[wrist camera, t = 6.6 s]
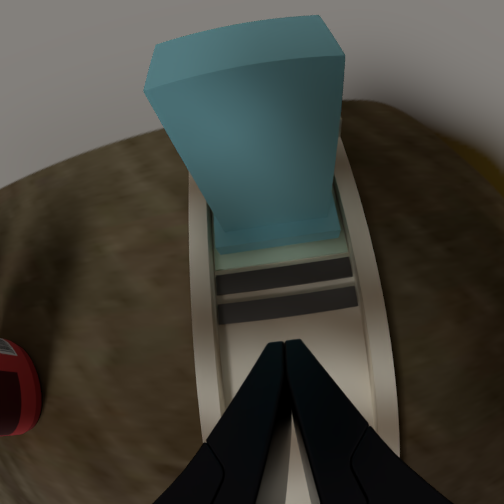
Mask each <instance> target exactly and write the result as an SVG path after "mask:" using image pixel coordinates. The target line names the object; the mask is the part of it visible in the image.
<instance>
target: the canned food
mask: <svg viewBox="0 0 504 504" xmlns="http://www.w3.org/2000/svg"><path fill="white" fill-rule="evenodd" d="M41 404H42V402H41V388H40V382H39V378H38V374H37V372H36V369H35V366H34V364H33V362H32V360H31V358H30V357H29V355H28V354H27V353H26V352H25V351H24V349H23V348H21V347H20V346H18V345H17V344H15V343H13V342H12V341H10V340H6V339H2V338H0V436H8V435H19V434H23V433H25V432H27V431H29V430H30V429H32V428H33V427H34V426H35V425H36V423H37V421H38V419H39V416H40V412H41Z"/></svg>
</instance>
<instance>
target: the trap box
mask: <svg viewBox="0 0 504 504" xmlns="http://www.w3.org/2000/svg"><path fill="white" fill-rule="evenodd" d="M341 126H342V117H341V116H340V126H339V135H338V144H337V152H336V161H335V168H334V176H333V183H332V190H331V191H332V195H333V199H334V203H335V207H336V211H337V215H338V220H339V224H340V229H341V231H340V234H339V238H334V239H327V240H320V241H313V242H306V243H299V244H292V245H286V246H279V247H272V248H265V249H258V250H251V251H244V252H237V253H230V254H223V255H220V254H219V252H218V251H217V250H216V248H215V231H214V213H213V212H212V210H211V208H210V206H209V205H208V203H207V201H206V200H205V198H204V196H203V194H202V193H201V191H200V189H199V188H198V186H197V184H196V182H195V181H194V179H193V177H192V175H191V174H190V172H189V260H190V289H191V310H192V328H193V343H194V357H195V370H196V381H197V392H198V402H199V412H200V421H201V430H202V438H203V443H204V442H206V439H207V437H208V436H209V434H210V433H211V431H212V430H213V428H214V427H215V425H216V424H217V422H218V421H219V419H220V418H221V416H222V415H223V413H224V412H225V410H226V409H227V407H228V406H229V404H230V403H231V401H232V399H233V398H234V396H235V395H236V393H237V392H238V390H239V388H240V387H241V385H242V384H243V382H244V381H245V379H246V377H247V376H248V374H249V372H250V371H251V369H252V368H253V366H254V364H255V363H256V361H257V359H258V358H259V356H260V354H261V353H262V351H263V350H264V348H265V346H266V345H267V343H269V342H276V341H283V342H284V343H285V341H286V340H292V339H301V340H302V341H303V342H304V344H305V345H306V346H307V347H308V349H309V350H310V351H311V352H312V354H313V355H314V356H315V357H316V359H317V360H318V361H319V362H320V364H321V365H322V366H323V367H324V369H325V370H326V371H327V372H328V374H329V375H330V376H331V377H332V379H333V380H334V381H335V382H336V384H337V385H338V386H339V387H340V389H341V390H342V391H343V392H344V393H345V395H346V396H347V397H348V398H349V400H350V401H351V402H352V403H353V405H354V406H355V407H356V408H357V409H358V411H359V412H360V413H361V414H362V416H363V417H364V418H365V419H366V421H367V422H368V423H369V426H372V428H373V429H374V430H375V431H376V432H377V434H378V435H379V436H380V437H381V438H382V440H383V441H384V442H385V443H386V444H387V445H388V446H389V447H390V448H391V450H392V451H393V452H394V453H395V454H396V455H397V456H398V457H399V458H400V441H399V419H398V404H397V392H396V382H395V372H394V363H393V355H392V348H391V341H390V334H389V327H388V321H387V315H386V309H385V304H384V298H383V293H382V288H381V283H380V278H379V273H378V268H377V264H376V259H375V255H374V250H373V246H372V242H371V238H370V234H369V230H368V226H367V222H366V218H365V215H364V211H363V207H362V204H361V200H360V197H359V193H358V190H357V186H356V183H355V180H354V177H353V173H352V170H351V167H350V164H349V161H348V158H347V155H346V152H345V149H344V146H343V143H342V140H341V137H340V135H341ZM206 443H207V442H206ZM285 504H311V500H310V496H309V491H308V487H307V482H306V478H305V473H304V469H303V464H302V460H301V455H300V451H299V446H298V442H297V438H296V433H295V429H294V423H293V418H292V433H291V447H290V459H289V471H288V482H287V492H286V502H285Z"/></svg>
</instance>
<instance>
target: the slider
mask: <svg viewBox="0 0 504 504" xmlns="http://www.w3.org/2000/svg"><path fill="white" fill-rule="evenodd" d="M344 68H345V54H344V52H343V51H342V49H341V47H340V46H339V44H338V43H337V41H336V40H335V38H334V36H333V35H332V33H331V32H330V30H329V29H328V28H327V26H326V24H325V23H324V22H323V20H322V19H321V17H320V16H319V15H311V16H298V17H286V18H277V19H268V20H260V21H254V22H247V23H242V24H236V25H231V26H226V27H221V28H216V29H211V30H207V31H203V32H199V33H195V34H191V35H187V36H183V37H180V38H176V39H173V40H170V41H166V42H163V43H160V44H157V45H156V46H155V49H154V53H153V56H152V60H151V64H150V67H149V71H148V75H147V79H146V82H145V86H144V93H145V95H146V97H147V99H148V100H149V102H150V104H151V106H152V107H153V109H154V111H155V113H156V114H157V116H158V118H159V120H160V121H161V123H162V125H163V127H164V129H165V130H166V132H167V134H168V136H169V137H170V139H171V141H172V142H173V144H174V146H175V148H176V149H177V151H178V153H179V155H180V156H181V158H182V160H183V162H184V163H185V165H186V167H187V169H188V170H189V172H190V174H191V175H192V177H193V179H194V181H195V182H196V184H197V186H198V188H199V189H200V191H201V193H202V194H203V196H204V198H205V200H206V201H207V203H208V205H209V206H210V208H211V210H212V212H213V213H214V231H215V248H216V250H217V251H218V252H219V254H220V255H223V254H230V253H237V252H244V251H251V250H258V249H265V248H272V247H279V246H286V245H292V244H299V243H306V242H313V241H320V240H327V239H334V238H339V234H340V231H341V229H340V224H339V220H338V215H337V211H336V207H335V203H334V199H333V195H332V191H331V190H332V183H333V176H334V168H335V161H336V152H337V144H338V135H339V126H340V116H341V105H342V93H343V81H344Z"/></svg>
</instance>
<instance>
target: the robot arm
mask: <svg viewBox="0 0 504 504" xmlns="http://www.w3.org/2000/svg"><path fill="white" fill-rule="evenodd" d="M292 418H293V423H294V429H295V433H296V438H297V442H298V446H299V451H300V455H301V460H302V464H303V469H304V473H305V478H306V482H307V487H308V491H309V496H310V500H311V504H454V503H452V502H451V501H449V500H448V499H447V498H446V497H444V496H443V495H442V494H441V493H439V492H438V491H437V490H436V489H435V488H433V487H432V486H431V485H430V484H429V483H428V482H426V481H425V480H424V479H423V478H422V477H420V476H419V475H418V474H417V473H416V472H415V471H414V470H412V469H411V468H410V467H409V466H408V465H407V464H406V463H405V462H404V461H403V460H402V459H401V458H399V457H398V456H397V455H396V454H395V453H394V452H393V451H392V450H391V448H390V447H389V446H388V445H387V444H386V443H385V442H384V441H383V440H382V438H381V437H380V436H379V435H378V434H377V432H376V431H375V430H374V429H373V428H372V426H369V423H368V422H367V421H366V419H365V418H364V417H363V416H362V414H361V413H360V412H359V411H358V409H357V408H356V407H355V406H354V405H353V403H352V402H351V401H350V400H349V398H348V397H347V396H346V395H345V393H344V392H343V391H342V390H341V389H340V387H339V386H338V385H337V384H336V382H335V381H334V380H333V379H332V377H331V376H330V375H329V374H328V372H327V371H326V370H325V369H324V367H323V366H322V365H321V364H320V362H319V361H318V360H317V359H316V357H315V356H314V355H313V354H312V352H311V351H310V350H309V349H308V347H307V346H306V345H305V344H304V342H303V341H302V340H301V339H292V340H286V341H285V343H284V342H283V341H276V342H269V343H267V345H266V346H265V348H264V350H263V351H262V353H261V354H260V356H259V358H258V359H257V361H256V363H255V364H254V366H253V368H252V369H251V371H250V372H249V374H248V376H247V377H246V379H245V381H244V382H243V384H242V385H241V387H240V388H239V390H238V392H237V393H236V395H235V396H234V398H233V399H232V401H231V403H230V404H229V406H228V407H227V409H226V410H225V412H224V413H223V415H222V416H221V418H220V419H219V421H218V422H217V424H216V425H215V427H214V428H213V430H212V431H211V433H210V434H209V436H208V437H207V439H206V442H207V443H206V442H204V443H203V444H202V446H201V447H200V449H199V450H198V452H197V453H196V455H195V456H194V457H193V459H192V460H191V461H190V463H189V464H188V465H187V467H186V468H185V469H184V471H183V472H182V473H181V474H180V475H179V476H178V477H177V478H176V480H175V481H174V482H173V483H172V484H171V485H170V486H169V487H168V488H167V489H166V490H165V491H164V492H163V493H162V494H161V495H160V496H159V498H158V499H157V500H156V501H155V502H154V503H152V504H285V502H286V492H287V482H288V471H289V459H290V447H291V433H292Z"/></svg>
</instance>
